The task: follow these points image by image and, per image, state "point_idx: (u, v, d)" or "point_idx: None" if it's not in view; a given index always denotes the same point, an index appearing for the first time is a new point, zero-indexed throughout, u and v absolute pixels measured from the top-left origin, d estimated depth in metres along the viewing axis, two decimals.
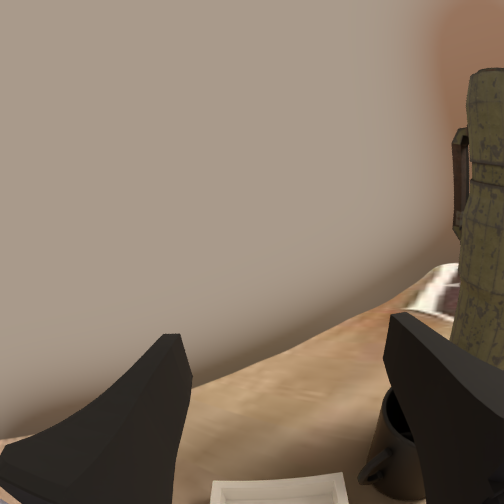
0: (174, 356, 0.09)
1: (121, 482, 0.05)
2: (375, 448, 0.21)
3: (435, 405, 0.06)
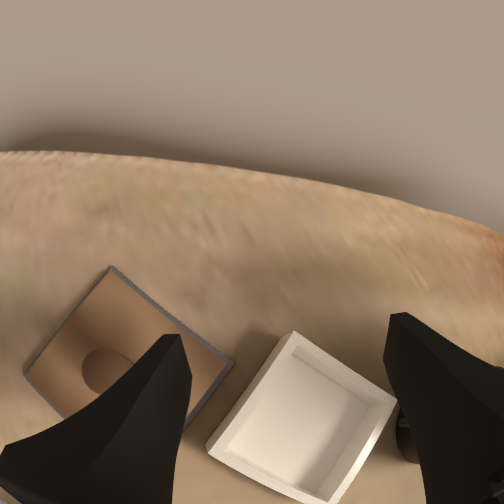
0: (174, 356, 0.09)
1: (121, 482, 0.05)
2: None
3: (435, 405, 0.06)
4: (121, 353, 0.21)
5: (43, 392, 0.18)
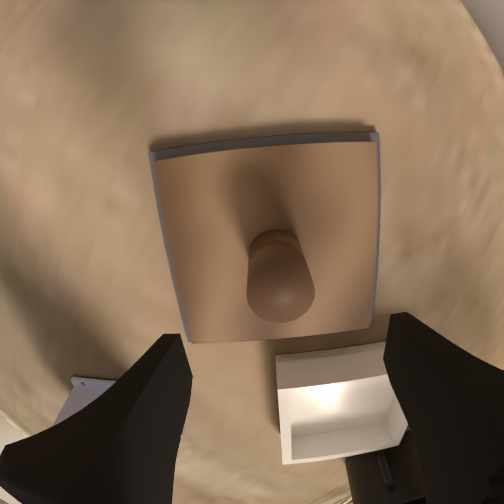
0: (174, 356, 0.09)
1: (121, 482, 0.05)
2: (403, 467, 0.22)
3: (435, 405, 0.06)
4: (300, 238, 0.17)
5: (163, 198, 0.17)
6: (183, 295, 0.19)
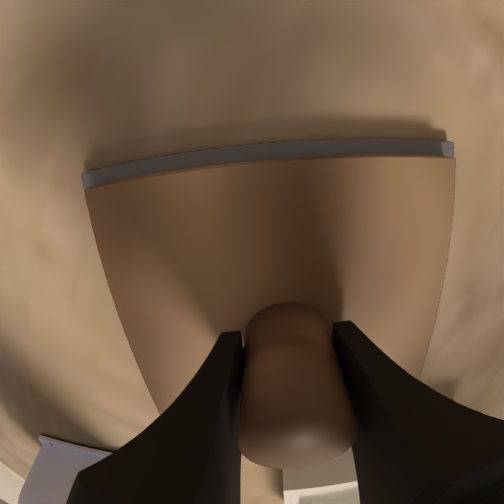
0: (239, 354, 0.09)
1: (217, 493, 0.04)
2: None
3: (365, 422, 0.06)
4: (327, 314, 0.10)
5: (103, 250, 0.10)
6: (150, 383, 0.12)
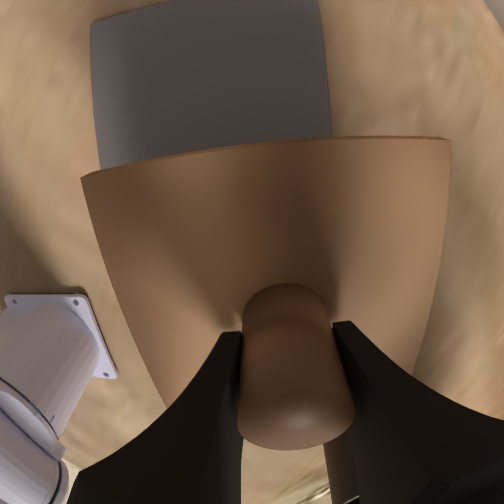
0: (239, 354, 0.09)
1: (217, 493, 0.04)
2: None
3: (364, 423, 0.06)
4: (324, 295, 0.11)
5: (100, 236, 0.10)
6: (151, 367, 0.12)
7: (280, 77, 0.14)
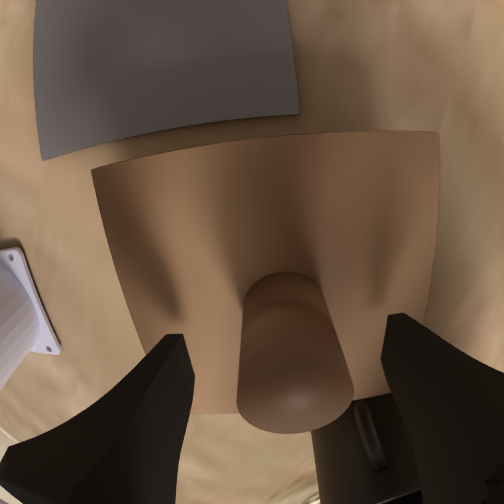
0: (177, 356, 0.09)
1: (126, 483, 0.05)
2: (402, 431, 0.14)
3: (432, 406, 0.06)
4: (322, 284, 0.11)
5: (108, 226, 0.10)
6: None
7: None
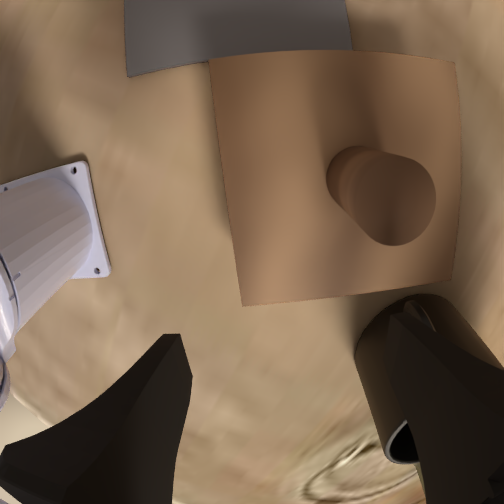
0: (174, 356, 0.09)
1: (121, 482, 0.05)
2: (448, 330, 0.16)
3: (435, 405, 0.06)
4: None
5: (218, 103, 0.12)
6: (236, 236, 0.14)
7: None
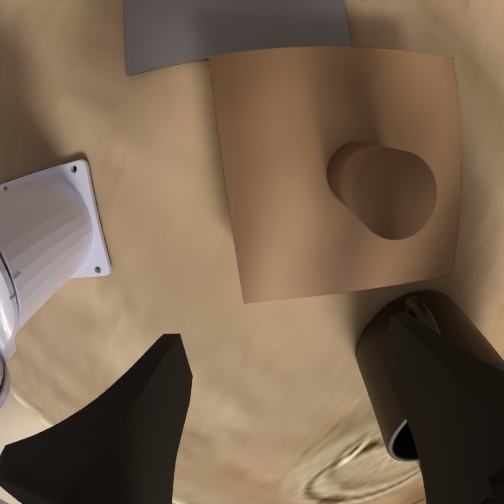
0: (174, 356, 0.09)
1: (121, 482, 0.05)
2: (450, 327, 0.16)
3: (435, 405, 0.06)
4: None
5: (218, 100, 0.12)
6: (237, 232, 0.14)
7: None
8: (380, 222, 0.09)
